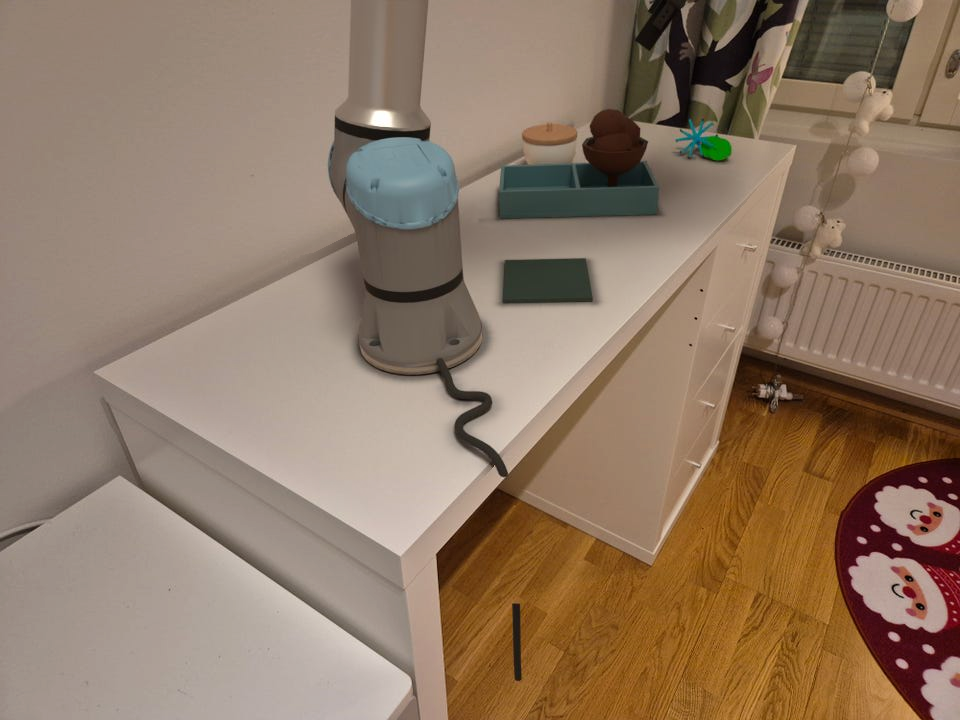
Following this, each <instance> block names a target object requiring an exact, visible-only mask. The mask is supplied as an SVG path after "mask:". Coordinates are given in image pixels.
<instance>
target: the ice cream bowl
mask: <svg viewBox="0 0 960 720" xmlns="http://www.w3.org/2000/svg"><path fill="white" fill-rule="evenodd" d="M589 129H590V131H589V132H590V133H591V136H590V137H586V138H585V139H584V141H583V142H582V144H581V147H582V153H583V155H584V158H585V160H586V161H587V163H590V164H591V165H592V166H593V167H594V168H596V169H597V170H598V171H600V172H601V173H603V174H606V175H607V177H608V184H607V187H617V184H618V177H619V175H620V174H623V173H626V172H628V171H630V170H632V169H633V168H634V167H635V166H637V165H638V164H639V163H640V161H642V159H643V157H644V155H645V153H646V151H647V148H648V144H649V140H647V139H645V138H643V137H641V127H640V126H639V125H638V124H637V123H636V122H635V121H634V120H633V119H632V118H630V117H627V116H626V115H624V114H623V113H622V111H620V110H619V109H614V108H613V109H612V108H606V109H602V110H601V111H599V112H597V113H596V114H595V115H594V116H593V118H592V120H591V121H590V124H589Z"/></svg>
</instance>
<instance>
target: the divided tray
mask: <svg viewBox="0 0 960 720" xmlns="http://www.w3.org/2000/svg"><path fill="white" fill-rule="evenodd" d="M499 175H500V176H499V188H498V204H499V219H501V220H503V219H505V220H506V219H538V218H540V219H541V218H543V219H545V218H575V217H578V218H579V217H611V216H612V217H613V216H616V217H617V216H648V215H649V216H650V215H657V214H658V213H657V212H658V205H659V204H658V203H659V195H660V185H659V183H658V180H657V179H656V177H655V175H654V173H653V171H652V169H651V167H650V164H649V163H648V161H647V160H641V161H640V163H639V164H638V165H637V166H635V167H634V168H633V169H632V170H630V171H628V172H626V173H623V174H620V175H619V177H618V184H617V187H607V184H608V177H607V175H606V174H603V173H601V172H600V171H598V170H597V169H596V168H594V167H593V166H592V165H591V164H590V163H589V162H571V163H565V164H535V165H528V164H508V165H500V174H499Z"/></svg>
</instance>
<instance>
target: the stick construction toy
mask: <svg viewBox="0 0 960 720" xmlns="http://www.w3.org/2000/svg"><path fill="white" fill-rule="evenodd" d="M688 123H689V126H690V130H691V133H692V134H691V133H689V132H687V131H685V130H683V129H682V128H679V132H680V133H681V134H683V135H684V136H685V137H680V138H676V139H674V141H675V142H676V143H679V142H684V141H691V142H690V143H689V144H687V146H685V147H684V148H683V149H682V150H680V151H679V154H680V155H682V154H684V153H685V152H686V151H688V150H689V153H688V158H689V159H691V158H692V154H693V151H694V149H695V146H696V147H697V148H698V150H699V153H700V155H701V157H702V159H703V158H706V159H709V160H713V161H715V162H721V161H725V160H727V159H728V158H729V157H730V156H732V153H733V148H732V144H731V142H730V141H729V140H728V139H726V138H724V137H723V138H722V137H719V134H715V135H708V136H707V135H706V136H702V135H703V134H704V133H705V132H706V131H707V130H709V129H710V128H711V127H712V126H713V127H714V125H715V124H714V122H713V121H712V122H709V124H707V125H706V126H705V127H704V123H705V119H704V118H701V122H700V125H699V128H698V130H697V131H696V129H695V126H694V124H693V122H692V119H691V118H689V119H688Z"/></svg>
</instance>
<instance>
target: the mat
mask: <svg viewBox="0 0 960 720" xmlns="http://www.w3.org/2000/svg"><path fill="white" fill-rule="evenodd" d="M503 274H504V275H503V292H502V294H503V295H502V296H503V297H502V303H503V304H522V303H523V304H525V303H528V304H529V303H578V302H579V303H581V302H582V303H583V302H584V303H586V302H589V303H590V302H593V301H594V297H593V292H592V285H591V280H590V275H589V274H590V273H589V268H588V263H587V258H586V257H577V258H576V257H575V258H574V257H573V258H540V259H539V258H535V259H534V258H533V259H531V258H530V259H529V258H527V259H504V272H503Z"/></svg>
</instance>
